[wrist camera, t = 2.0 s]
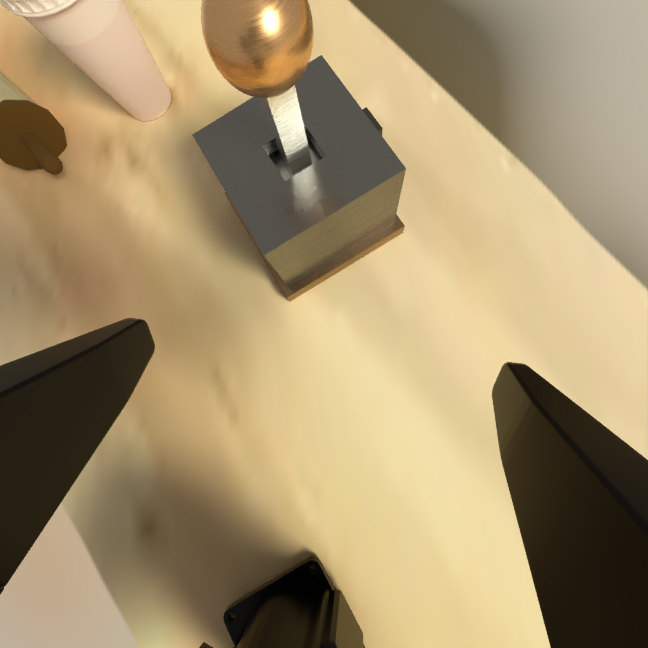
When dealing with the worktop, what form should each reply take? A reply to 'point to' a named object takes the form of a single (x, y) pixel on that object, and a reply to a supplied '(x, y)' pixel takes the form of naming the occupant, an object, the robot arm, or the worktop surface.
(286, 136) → the copper ball knob
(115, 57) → the smoothie
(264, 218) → the copper ball lever box
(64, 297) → the worktop surface
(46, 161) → the rolling pin
